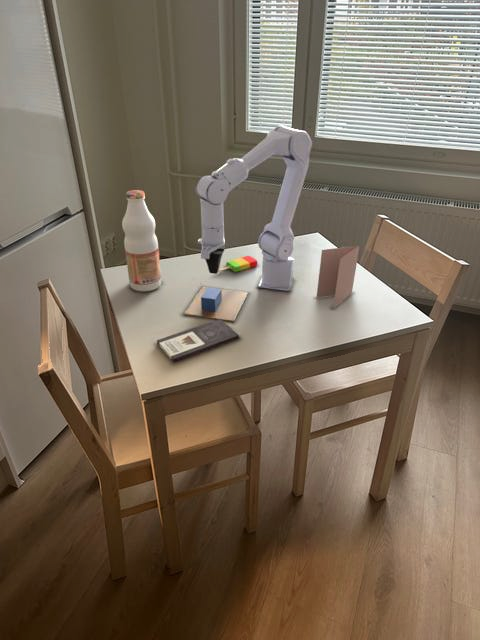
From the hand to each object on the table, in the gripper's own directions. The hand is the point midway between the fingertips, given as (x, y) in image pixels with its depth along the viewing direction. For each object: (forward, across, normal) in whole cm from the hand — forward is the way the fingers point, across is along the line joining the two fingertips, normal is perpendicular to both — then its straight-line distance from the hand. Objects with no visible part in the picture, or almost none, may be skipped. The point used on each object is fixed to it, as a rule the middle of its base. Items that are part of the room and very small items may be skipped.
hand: (213, 272), depth 124 cm
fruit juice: (+9, -4, -23) cm, 25 cm away
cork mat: (+9, +1, +1) cm, 9 cm away
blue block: (+7, 0, 0) cm, 7 cm away
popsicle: (+9, -22, 0) cm, 24 cm away
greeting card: (+10, -10, +34) cm, 37 cm away
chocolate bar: (+9, +20, +2) cm, 22 cm away
